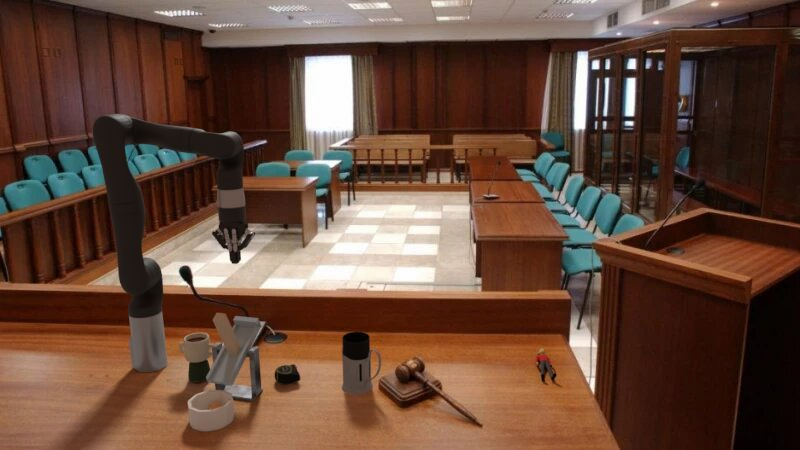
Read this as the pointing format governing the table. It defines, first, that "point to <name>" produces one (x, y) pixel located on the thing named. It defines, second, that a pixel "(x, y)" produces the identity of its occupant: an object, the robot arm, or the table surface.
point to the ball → (214, 406)
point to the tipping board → (232, 361)
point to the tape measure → (287, 374)
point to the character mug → (197, 355)
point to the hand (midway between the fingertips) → (235, 263)
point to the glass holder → (357, 363)
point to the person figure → (544, 364)
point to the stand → (255, 389)
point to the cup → (208, 418)
